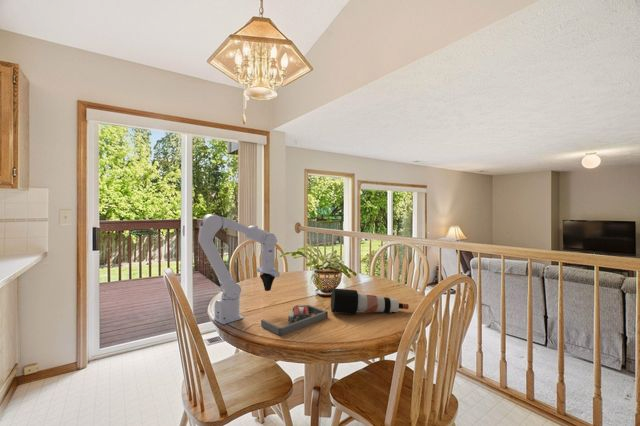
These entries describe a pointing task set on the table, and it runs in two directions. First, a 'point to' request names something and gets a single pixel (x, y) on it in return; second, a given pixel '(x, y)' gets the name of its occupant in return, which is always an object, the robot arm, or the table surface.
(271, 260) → the robot arm
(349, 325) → the table surface
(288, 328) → the charging dock
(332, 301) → the striped bottle
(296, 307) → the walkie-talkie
